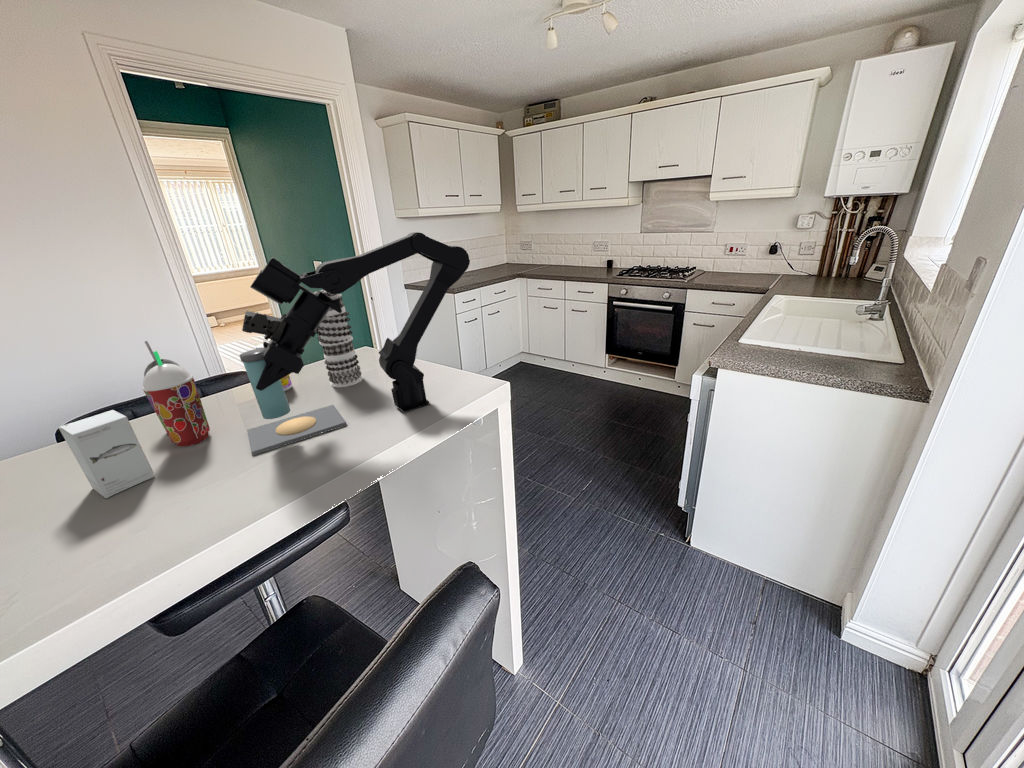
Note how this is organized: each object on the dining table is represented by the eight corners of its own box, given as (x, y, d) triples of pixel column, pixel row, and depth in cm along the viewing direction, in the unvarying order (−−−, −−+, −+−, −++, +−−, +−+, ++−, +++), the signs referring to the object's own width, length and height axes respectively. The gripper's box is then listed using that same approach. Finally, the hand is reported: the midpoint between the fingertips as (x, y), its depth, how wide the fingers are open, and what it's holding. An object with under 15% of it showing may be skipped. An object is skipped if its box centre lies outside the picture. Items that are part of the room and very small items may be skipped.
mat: (334, 407, 98) (333, 403, 98) (346, 425, 89) (345, 421, 89) (248, 433, 89) (246, 428, 89) (252, 455, 80) (250, 451, 80)
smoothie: (224, 433, 90) (190, 346, 82) (183, 453, 83) (141, 360, 75) (202, 428, 93) (166, 344, 86) (160, 446, 86) (118, 357, 79)
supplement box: (105, 500, 70) (69, 435, 65) (91, 488, 74) (56, 426, 69) (157, 476, 76) (127, 415, 71) (141, 466, 79) (112, 408, 75)
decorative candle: (347, 389, 109) (323, 294, 99) (321, 386, 112) (296, 294, 103) (371, 376, 116) (350, 287, 107) (346, 374, 120) (324, 287, 110)
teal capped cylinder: (294, 405, 86) (274, 346, 81) (288, 416, 81) (267, 354, 76) (266, 410, 85) (244, 350, 80) (258, 421, 80) (235, 358, 75)
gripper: (262, 288, 83) (218, 352, 83) (260, 300, 68) (206, 379, 67) (314, 319, 90) (274, 378, 89) (324, 336, 74) (275, 408, 74)
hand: (258, 385), depth 80 cm, fingers closed on teal capped cylinder, 5 cm apart
